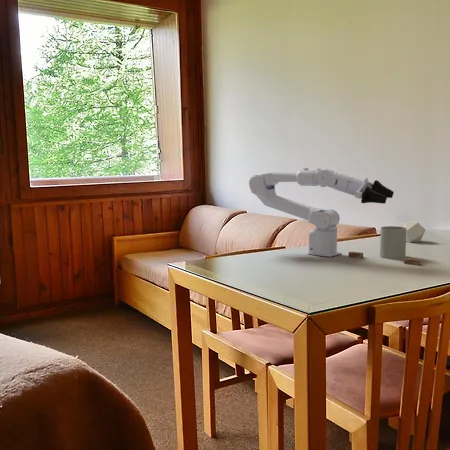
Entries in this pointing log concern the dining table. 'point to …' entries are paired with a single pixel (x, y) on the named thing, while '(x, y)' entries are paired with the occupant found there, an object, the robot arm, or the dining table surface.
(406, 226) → the die
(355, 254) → the pair of brown blocks
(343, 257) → the dining table surface
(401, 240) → the grey cylinder
